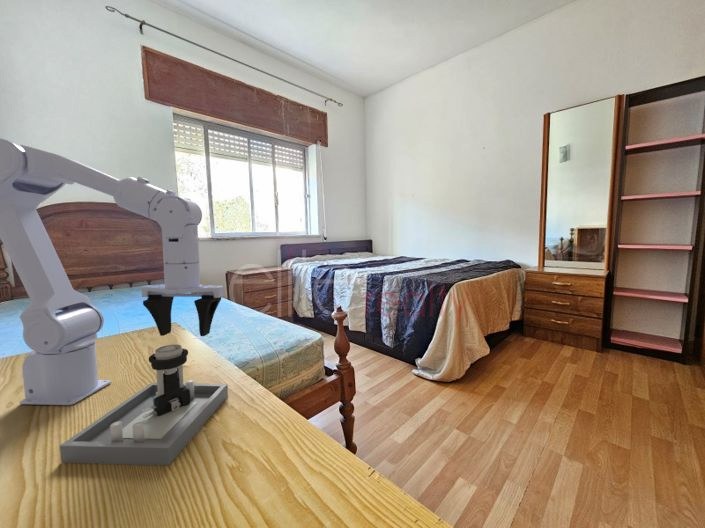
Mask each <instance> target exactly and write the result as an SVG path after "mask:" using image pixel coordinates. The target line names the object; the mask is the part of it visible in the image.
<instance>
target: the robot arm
mask: <svg viewBox="0 0 705 528" xmlns="http://www.w3.org/2000/svg"><path fill="white" fill-rule="evenodd" d="M75 183H76V184H78V185H80V186H84V187H86V188H89V189H92V190H95V191H97V192H100V193H103V194H106V195H109V196H111V197H112V198H113V200H114V202H115V204H116V205H117V206H118V207H119V208H122V209H124V210H127V211H130V212H133V214H134V213H135V214H137V215H140V216H142V217H145V218H147V219H150V220H152V221H155V222H156V223H157V224H158V225H159V226H160V228H161V236H162V237H161V241H162V255H163V256H162V257H163V258H162V259H163V278H164V279H163V280H164V284H159V285H158V284H155V285H154V284H153V285H151V284H148V285H143V286H141V297H142V298H146V299H145V300H143V301H142V305H143V306H144V307H145V308H146V310H147V311H148V312H149V314H150V316H152V318H153V321H154V323H155V325H156V327H157V330H158V333H159V335H160V337H162V336H163V337H164V336H166V335H168V334H170V333H171V332H172V306H173V302H174V298H176V297H180V298H181V297H183V298H185V297H187V298H188V297H189V298H190V297H191V298H194V297H195V298H198V299H195V300H194V301H193V303H194V306H195V308H196V313H197V316H198V317H197V318H198V328H199V329H198V330H199V335H200V337H206V336H208V334H210V332H211V328H212V327H211V326H212V322H213V318H214V316H215V313H216V310H217V308H218V306H219V304H220V302H221V300H222V297H224V296H225V290H224V289H225V288H224V285H214V284H212V285H211V284H201V274H200V273H201V271H200V248H199V247H200V246H199V231H198V226H199V225H200V223H201V221H202V219H203V211H202V210H201V207H200V206H199V205H198V204H197V203H196V202H194V201H193V200H192V199H190V198H186V197H185V198H183V197H180V196H177V195H176V192H175V191H174V190H172V189H171V190H170V189H166V190H165V189H162V188H159V187H157V186H154V185H152V184H150V180H149V179H147V178H144V177H140V176H137V178H135V177H133V176H131V177H126V178H122V179H119V178H116V177H115V176H113V175H112V176H111V175H109V174H107V173H105V172H102V171H100V170H97V169H96V168H94V167H91V166H90V165H87V164H84V163H83V162H80V161H78V160H75V159H73V158H69V157H66V156H63V155H60V154H56V153H53V152H49V151H46V150H42V149H40V148H35V147H31V146H28V145H24V144H20V145H19V144H17V143H14V142H12V141H11V140H10V141H9V140H8V139H4V138H0V240H1V242H2V244H3V247H4V249H5V250H6V252H7V254H8V257H9V259H10V261H11V262H12V264H13V266H14V269H15V271H16V273H17V274H18V275H17V276H18V277H19V279H20V281H21V283H22V285H23V287H24V290H25V291H26V294H27V295H28V297H29V299H30V303H29V304H28V305H27V306H26V307H25V309H24V310H23V311H22V312H21V314H20V315H19V318H20V321H21V323H22V328H23V331H22V338H23V341H24V343H25V345H26V346H27V347H28V348H29V349H31V350H32V351H30V352H29V353H28V354H27V356H26V357H25V359H24V360H23V364H22V367H21V368H22V369H21V370H22V378H23V379H22V380H23V389H24V391H23V392H24V399H22V400H20V401H19V404H20V405H37V406H39V405H42V406H43V405H45V406H46V405H48V406H49V405H50V406H52V405H53V406H73V405H75V404H77V403H78V402H81V401H82V400H83V399H85V398H87V397H89V396H90V395H92V394H94V393H95V392H97V391H99V390H101V389H103V388H104V387H106V386H108V385H110V384H112V380H110V379H99V373H98V362H97V361H98V359H97V348H96V340H97V339H98V336H97V335H98V333H99V332H100V331H101V330H102V328H103V326H104V322H105V320H104V315H103V313H102V312H101V310H100V309H99V308H97V307H96V306H94V304H93V303H92V302H91V300H90V298H89V296H87V295H85V294H83V293H81V292H79V291H77V290H76V289H74V287H73V286H72V283H71V281H70V278H69V277H68V275H67V273H66V270H65V268H64V266H63V264H62V261H61V259H60V257H59V255H58V254H57V251H56V249H55V247H54V244H53V243H52V240H51V238H50V235H49V234H48V232H47V230H46V227H45V225H44V224H43V221H42V219H41V217H40V215H39V213H38V211H37V209H38V206H39V205H40V204H42V203H44V202H45V201H46V200H47V199H49V198H50V197H52V196H53V195H54V194H56V193H57V192H58V191H59V190H61V189H62V188H63V187H64V186H65V185H67V184H68V185H75ZM56 311H58V312H56Z"/></svg>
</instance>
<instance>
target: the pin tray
mask: <svg viewBox="0 0 705 528" xmlns="http://www.w3.org/2000/svg"><path fill="white" fill-rule="evenodd" d="M184 383H185V386H184V387H186V388H188V389H189V390H190V404H189V405H187V406H182V407H179V409H178V410H175V411H170V412H168V413H166V414H164V415H161V416H158V415H157V414H154V415H151V416H148V415H146V414H148V413H150V412H151V411H153V409H151V410H149V411H146V412H143V411H142V410H144V409H146V408H149V407H150V406H152V405H153V397H154V396H156V392H158V390H157V382H150V383H149V384H148V385H146V386H144V387H143V388H141V389H140V390H139V391H137V392H136V393H134V394H133V395H131V396H130V397H128V398H127V399H125V400H124V401H123V402H122V403H120V404H118V405H117V406H116V407H114V408H112V409H110V411H108V412H107V413H105V414H104V415H102V416H100V418H98V419H96V420H95V421H93V422H92V423H91V424H89V425H88V426H87V427H84V428H83V429H82V430H80V431H79V432H77V433H76V434H75V435H74V436H73V435H72V437H70V438H69V439H67V440H66V441H64V442H63V443H61V444H60V445H59V453H60V462H61V463H62V464H63V463H64V464H65V463H66V464H98V465H99V464H101V465H102V464H103V465H105V464H108V465H141V466H142V465H143V466H144V465H145V466H170V465H171V463H172V462H173V461H174V460H176V458H177V457H178V456H179V455H180V453H181V452H182V451H183V449H185V447H186V446H187V445H188V444H189V443H190V442H191V440H192V439H193V438H194V437H195V436H196V434H197V433H198V432H199V431H200V430H201V428H202V427H203V426H204V425H205V424H206V423H207V421H208V420H210V418H211V417H212V415H213V414H214V413H215V412H216V411H217V410H218V408H219V407H221V405H222V404H223V402H224V401H225V400H226V399H227V398H228V396H229V393H228V390H229V387H228V386H229V385H228V383H197V382H196V383H195V380H194V379H189V380H187V381H185V382H184ZM146 410H148V409H146ZM143 415H146V416H148V417H146V418H143V417H142V416H143Z"/></svg>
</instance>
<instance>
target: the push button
mask: <svg viewBox="0 0 705 528" xmlns="http://www.w3.org/2000/svg"><path fill="white" fill-rule="evenodd" d="M154 352H155V353H153V354H151V355H149V357H148V362H149V363H150V366H151V368H152V370H155V372H156V383H157V390H158V392H156V396H154V397H153V405H152V406H150V407H149V408H146V409H148V410H146V409H144V410H142V411H143V412H146V411H149V410H151V409H153V411H151V412H150V413H148V414H146V415H148V416H151V415H154V414H157V415H158V416H161V415H164V414H166V413H168V412H170V411H175V410H178V409H179V407H182V406H187V405H189V404H190V390H189V389H188V388H186V387H184V386H185V383H186V382H184V368H183V365H184V364H186V362H187V361H188V358H187V357H188V355H189V350H188V349H186V348H183V347H182V345H181V344H176V343H175V344H168V345H167V344H166V345H163V346H160V347H158V348H156V349H155V351H154ZM146 415H143V416H142V417H143V418H146V417H148V416H146Z"/></svg>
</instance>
